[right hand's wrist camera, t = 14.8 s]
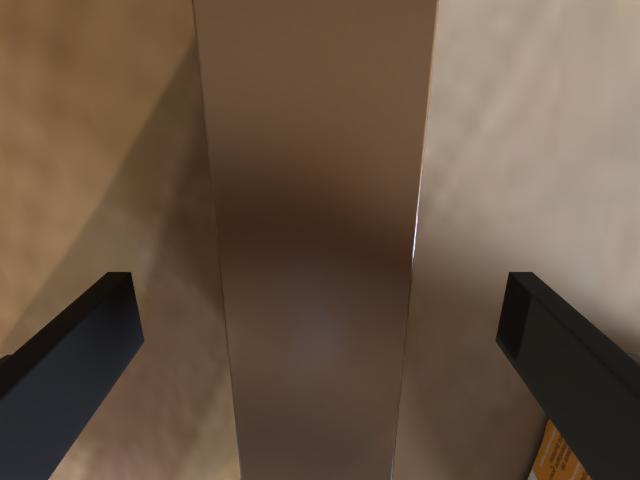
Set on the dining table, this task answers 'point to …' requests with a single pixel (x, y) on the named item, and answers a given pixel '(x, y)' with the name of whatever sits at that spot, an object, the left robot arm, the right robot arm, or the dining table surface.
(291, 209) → the board
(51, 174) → the dining table surface
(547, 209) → the dining table surface
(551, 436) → the hard drive box
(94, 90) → the dining table surface
